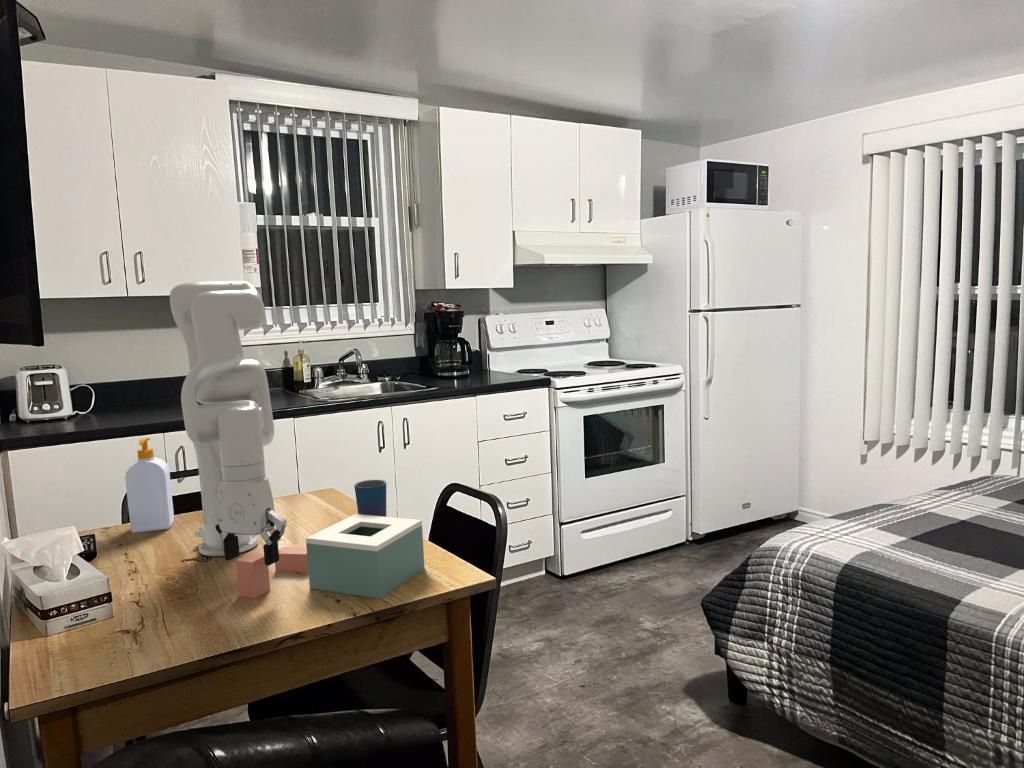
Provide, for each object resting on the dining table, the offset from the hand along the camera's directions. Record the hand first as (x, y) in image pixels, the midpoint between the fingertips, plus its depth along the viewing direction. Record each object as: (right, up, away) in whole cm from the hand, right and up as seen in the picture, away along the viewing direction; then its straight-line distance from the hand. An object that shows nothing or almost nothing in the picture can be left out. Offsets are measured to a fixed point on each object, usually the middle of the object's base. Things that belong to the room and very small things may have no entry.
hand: (252, 560), depth 139 cm
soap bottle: (-41, -3, +46) cm, 62 cm away
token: (+4, -5, +13) cm, 15 cm away
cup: (+19, -3, +22) cm, 29 cm away
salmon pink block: (0, -6, +1) cm, 7 cm away
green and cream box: (+21, -5, +6) cm, 22 cm away
